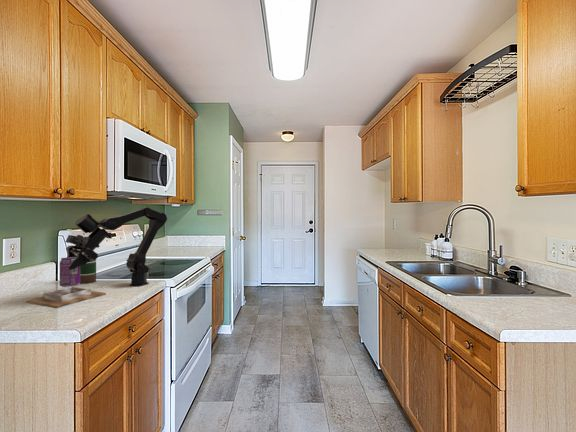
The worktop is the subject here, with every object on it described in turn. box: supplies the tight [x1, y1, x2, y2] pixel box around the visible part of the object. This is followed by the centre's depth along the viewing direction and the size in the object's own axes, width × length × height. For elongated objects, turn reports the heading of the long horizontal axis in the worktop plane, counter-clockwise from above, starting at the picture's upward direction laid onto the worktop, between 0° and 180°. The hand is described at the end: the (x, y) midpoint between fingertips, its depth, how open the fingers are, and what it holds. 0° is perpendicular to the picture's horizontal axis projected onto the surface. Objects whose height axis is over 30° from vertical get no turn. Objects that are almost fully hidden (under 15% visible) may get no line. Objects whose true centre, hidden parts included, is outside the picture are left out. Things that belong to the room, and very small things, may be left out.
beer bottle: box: [80, 236, 97, 285], centre depth 159 cm, size 8×8×24 cm
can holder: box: [25, 286, 107, 309], centre depth 130 cm, size 20×20×3 cm
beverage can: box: [59, 257, 81, 288], centre depth 127 cm, size 7×7×12 cm
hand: (66, 268), depth 127 cm, fingers closed on beverage can, 7 cm apart
